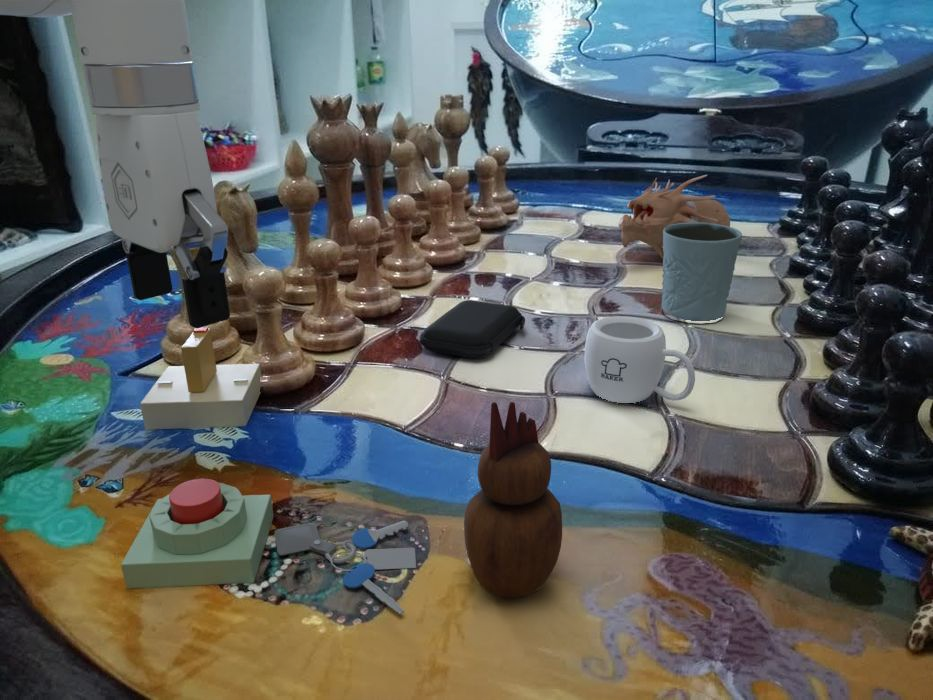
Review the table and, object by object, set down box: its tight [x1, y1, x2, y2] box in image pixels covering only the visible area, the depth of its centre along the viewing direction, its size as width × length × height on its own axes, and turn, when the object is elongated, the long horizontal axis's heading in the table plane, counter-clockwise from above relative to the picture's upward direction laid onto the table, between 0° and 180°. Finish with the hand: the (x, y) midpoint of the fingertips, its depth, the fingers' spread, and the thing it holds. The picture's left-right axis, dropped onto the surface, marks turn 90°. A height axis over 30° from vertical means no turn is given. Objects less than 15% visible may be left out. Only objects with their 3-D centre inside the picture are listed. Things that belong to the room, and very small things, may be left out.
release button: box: [169, 478, 223, 524], centre depth 54 cm, size 4×4×2 cm
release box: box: [120, 482, 275, 590], centre depth 55 cm, size 9×8×4 cm
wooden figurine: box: [463, 401, 563, 598], centre depth 50 cm, size 7×6×15 cm
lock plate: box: [139, 363, 262, 431], centre depth 77 cm, size 10×9×3 cm
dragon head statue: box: [618, 174, 731, 260], centre depth 125 cm, size 13×15×25 cm
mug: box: [584, 315, 696, 404], centre depth 78 cm, size 12×8×8 cm
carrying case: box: [419, 299, 526, 360], centre depth 94 cm, size 11×3×15 cm
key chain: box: [273, 519, 417, 616], centre depth 56 cm, size 14×8×1 cm, turn 56°
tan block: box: [180, 326, 217, 392], centre depth 76 cm, size 5×2×5 cm, turn 3°
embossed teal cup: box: [661, 222, 743, 321], centre depth 101 cm, size 10×10×12 cm
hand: (181, 308), depth 61 cm, fingers open, 9 cm apart
